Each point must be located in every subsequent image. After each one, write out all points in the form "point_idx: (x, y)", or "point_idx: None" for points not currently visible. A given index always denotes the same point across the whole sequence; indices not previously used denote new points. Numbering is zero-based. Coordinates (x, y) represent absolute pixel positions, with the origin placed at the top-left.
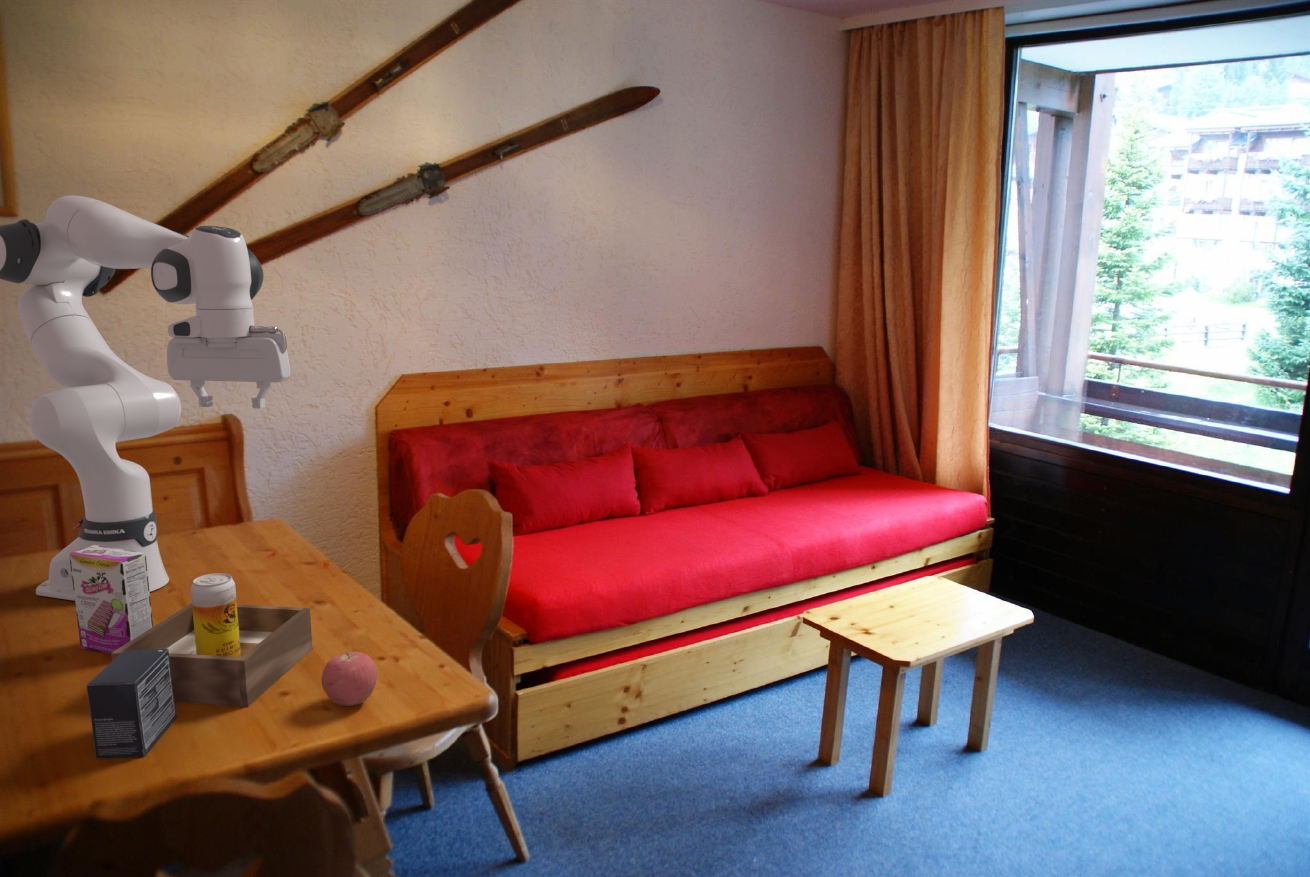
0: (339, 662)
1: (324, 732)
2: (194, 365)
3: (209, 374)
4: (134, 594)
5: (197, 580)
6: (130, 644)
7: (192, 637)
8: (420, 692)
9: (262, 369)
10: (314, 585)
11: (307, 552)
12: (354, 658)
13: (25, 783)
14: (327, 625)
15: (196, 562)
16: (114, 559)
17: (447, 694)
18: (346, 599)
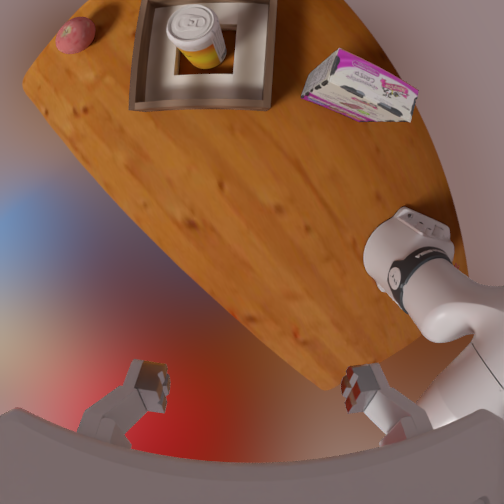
0: (70, 22)
1: (93, 5)
2: (437, 490)
3: (360, 479)
4: (321, 69)
5: (212, 22)
6: (271, 4)
7: (253, 79)
8: (50, 70)
9: (41, 472)
10: (218, 267)
11: (265, 341)
12: (62, 31)
13: None
14: (155, 166)
15: (356, 310)
16: (354, 57)
17: (37, 75)
18: (168, 233)
